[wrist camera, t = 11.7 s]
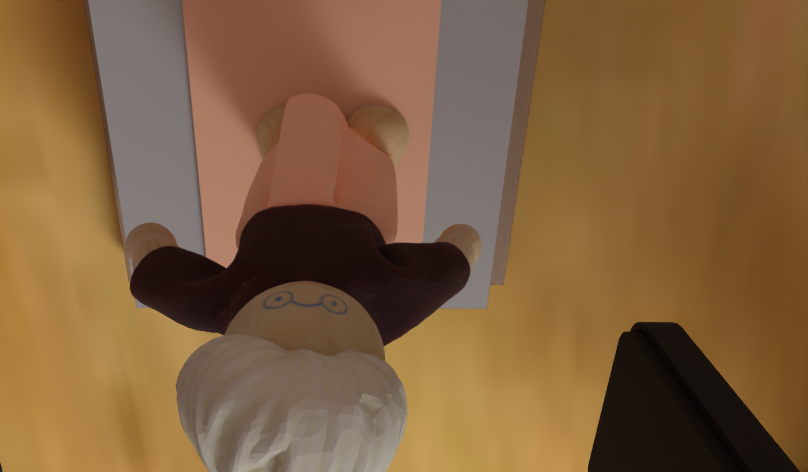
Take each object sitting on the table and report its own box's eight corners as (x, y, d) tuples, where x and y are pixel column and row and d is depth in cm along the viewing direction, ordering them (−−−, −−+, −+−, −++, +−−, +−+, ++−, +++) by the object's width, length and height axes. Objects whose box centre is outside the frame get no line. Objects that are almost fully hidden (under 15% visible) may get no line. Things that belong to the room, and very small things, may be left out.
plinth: (551, -129, 22) (627, -147, 16) (496, 268, 29) (534, 357, 23) (75, -163, 21) (-36, -198, 15) (139, 265, 28) (82, 359, 22)
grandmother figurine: (433, 64, 18) (593, 306, 7) (447, 185, 20) (593, 535, 9) (168, 107, 18) (-111, 427, 7) (206, 226, 20) (35, 637, 8)
